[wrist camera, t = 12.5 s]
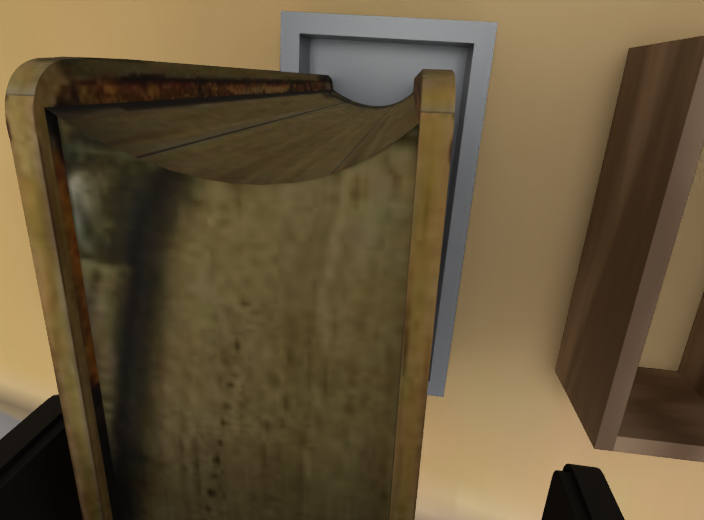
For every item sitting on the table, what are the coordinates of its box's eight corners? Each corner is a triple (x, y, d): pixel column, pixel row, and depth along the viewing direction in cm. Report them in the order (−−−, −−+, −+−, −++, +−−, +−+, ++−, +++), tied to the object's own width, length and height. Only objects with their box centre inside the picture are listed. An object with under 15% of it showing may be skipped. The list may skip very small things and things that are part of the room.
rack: (800, 57, 27) (949, 47, 20) (689, 385, 34) (767, 469, 27) (629, 48, 28) (709, 34, 20) (555, 370, 35) (594, 448, 28)
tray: (486, 30, 28) (497, 22, 25) (440, 364, 36) (443, 396, 32) (297, 20, 29) (281, 10, 26) (290, 347, 37) (276, 377, 33)
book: (401, 332, 34) (380, 866, 11) (323, 325, 35) (141, 822, 11) (421, 78, 29) (463, 53, 5) (327, 75, 29) (-11, 39, 6)
